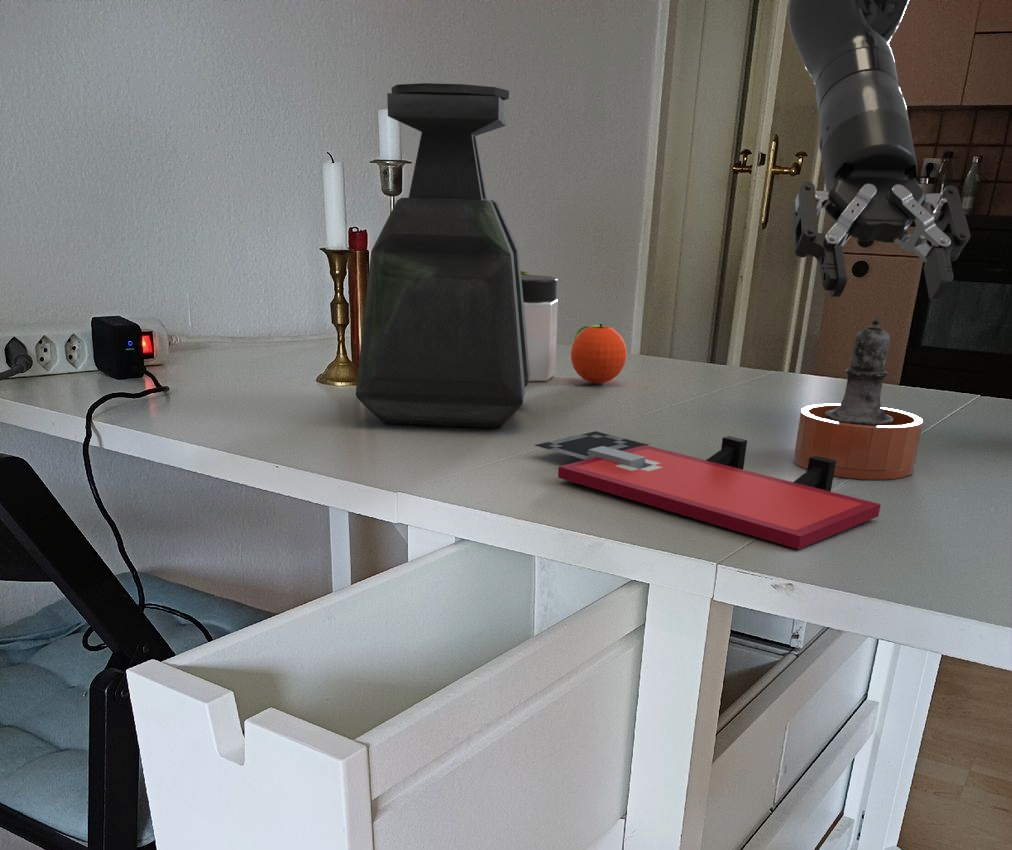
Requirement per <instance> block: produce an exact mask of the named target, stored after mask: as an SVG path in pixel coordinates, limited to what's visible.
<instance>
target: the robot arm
mask: <svg viewBox="0 0 1012 850" xmlns="http://www.w3.org/2000/svg"><path fill="white" fill-rule="evenodd" d="M909 1H910V0H788V2H787V21H788V22H787V23H788V28H789V32H790V36H791V37H792V40H793V43H794V45H795V47H796V50H797V52H798V54H799V56H800V59H801V61H802V63H803V65H804V67H805V69H806V71H807V73H808V74H809V76H810V78H811V80H812V83H813V85H814V89H815V90H814V92H815V93H814V94H815V100H816V107H817V114H818V115H817V116H818V149H819V153H820V156H821V162H822V169H823V176H824V182H825V183H824V184H825V190H816V185H815V183H813V182H812V181H808V180H806V181H803V182H802V183H801V184H800V187H799V189H798V192H797V194H796V197H795V199H794V202H793V205H792V208H791V209H792V224H793V225H792V227H793V242H794V243H793V244H794V245H793V246H794V254H795V255H796V256H797V257H799V258H807V257H808V256H810V257H814V258H815V260H816V261H817V263H818V265H819V271H820V278H821V285H822V287H823V289H824V290H825V291H829V292H828V293H829V297H830V298H840V297H841V296H842V294H843V292H844V290H845V288H846V287H847V284H848V283H847V282H848V273H847V267H846V259H845V254H844V248H843V247H844V246H845V245H846V243H847V242H848V241H849V240H850V239H851V237H852V238H854V239H857V242H858V243H868V242H873V241H874V242H875V241H877V242H880V243H888V244H889V243H892V244H893V243H894V242H895V243H896V244H897V245H898V246H899V247H900V248H901V249H902V250H903V251H904V252H906V253H907V254H911V253H914V255H916V256H917V257H918V259H920V260H921V261H922V262H923V263H925V264H924V265H923V271H924V277H925V284H926V288H927V294H928V299H929V300H935V301H937V300H938V301H939V300H941V298H942V297H943V295H944V294H945V293H946V292H947V290H949V288H950V286H951V284H952V283H953V280H954V272H953V268H952V262H955V261H956V260H957V259H958V258H959V256H960V255H961V252H962V250H963V249H964V247H965V246H966V244H968V242H969V240H970V239H971V233H970V228H969V225H968V221H967V218H966V214H965V210H964V207H963V203H962V199H961V196H960V192H959V189H958V188H957V187H956V186H955V185H951V184H949V185H946V186H945V187H944V189H943V190H942V192H939V193H936V192H935V193H926V192H925V190H924V189H923V188H922V187H921V185H920V184H919V181H918V162H917V156H916V151H915V146H914V141H913V136H912V130H911V125H910V117H909V114H908V108H907V105H906V101H905V98H904V96H903V93H902V91H901V87H900V83H899V77H898V72H897V66H896V61H895V58H894V53H893V50H892V48H891V47H890V44H889V43H890V41H891V39H892V38H893V36H894V34H895V33H896V32H897V29H898V28H899V26H900V24H901V21H902V19H903V16H904V14H905V11H906V9H907V6H908V4H909ZM821 209H824V210H825V212H826V213H827V215H829V217H831V218H832V219H833V220H834V221H835V223H834V224H833V226H832V227H831V228H830V229H829V231H827V233H826V234H824V233H822V232H819V230H818V215H819V213H820V211H821ZM913 223H914V224H915V228H914V230H913V231H912V233H910V232H909V231H908V230H909V228H910V227H911V225H912V224H913ZM925 239H926V240H927V241H929V242H930V243H931V244H932V245H930V244H929V243H927V242H926V240H925Z"/></svg>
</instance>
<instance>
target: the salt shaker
mask: <svg viewBox="0 0 1012 850" xmlns="http://www.w3.org/2000/svg"><path fill="white" fill-rule="evenodd" d="M880 322H881V321H880V320H879V318H878V316H875V317H874V318H873V319H872V320H871V323H872V324H871V325H870V326H868V327H867V328H863V329H861V330H860V331H859V332H857V334H856V336H855V339H854V345H853V351H852V357H851V362H850V367H848V368H847V369H845V371H844V373H846V374H847V380H846V387H845V393H844V394H843V395H844V396H843V398H842V401H841V403H840V404H841V405H840V406H839V407H837V408H836V409H834V410H829V411H827V412H825V416H826V417H827V418H828V420H830V421H835V422H841V423H848V424H856V425H868V426H888V425H889V423H891V422H893V418H892V417H891V416H889V415H886V414H885V413H884V412H883V411H882V409H881V407H882V405H881V395H882V389H883V384H884V379H885V378H886V376H888V375H889V372H887V371H886V370H885V368H886V363H887V357H888V352H889V347H890V342H891V341H890V340H891V339H890V338H891V337H890V335H889V333H888V332H887V331H886V330H884V329H882V328H881V326H879V323H880Z"/></svg>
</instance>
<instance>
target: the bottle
mask: <svg viewBox="0 0 1012 850" xmlns="http://www.w3.org/2000/svg"><path fill="white" fill-rule="evenodd" d="M386 95H387V117H389V118H390V119H393V120H395V121H397V122H400V123H401V124H404V125H406V126H408V127H410V128H412V129H414V130H416V131H418V132H421V134H420V139H419V144H418V148H417V153H416V154H417V155H416V158H415V164H414V169H413V174H412V178H411V184H410V188H409V194H408V197H401V198H398V199H397V200H396V201H395V204H394V206H393V208H392V209H391V211H390V214H389V215H388V217H387V220H386V221H385V223H384V225H383V227H382V229H381V231H380V233H379V235H378V237H377V239H376V241H375V243H374V245H373V247H372V248H371V251H370V259H369V269H368V277H367V285H366V286H367V287H366V295H365V303H364V304H365V305H364V313H363V322H362V333H361V341H360V349H359V350H360V351H359V358H358V359H359V360H358V367H357V377H356V386H355V397H356V399H357V400H358V401H359V402H360V403H361V404H362V405H363V406H364V407H365V408H366V409H367V410H369V412H370V413H372V414H373V415H374V416H375V417H376V418H377V419H378V420H379V421H380V422H381V423H383V424H391V425H393V424H395V425H413V426H414V425H417V426H441V427H463V428H484V429H485V428H489V429H501V428H502V427H503V426H504V425H505V424H506V423H507V422H508V421H509V420H510V418H512V416H513V415H514V414H515V413H516V412H517V411H518V410H519V409H520V408H521V407H522V405H523V402H524V398H525V395H526V387H527V386H528V385H529V384H528V383H529V382H528V380H529V377H530V366H529V355H528V344H527V333H526V323H525V312H524V301H523V291H522V280H521V271H522V269H521V260H520V248H519V247H518V245H517V242H516V240H515V238H514V235H513V233H512V231H511V229H510V227H509V225H508V223H507V221H506V218H505V215H504V214H503V211H502V209H501V207H500V205H499V203H498V201H496V200H494V199H488V195H487V189H486V185H485V179H484V173H483V168H482V162H481V157H480V156H481V155H480V151H479V145H478V141H477V136H480V135H483V134H486V133H489V132H491V131H495V130H497V129H501V128H504V127H506V126H507V104H506V103H505V102H504V101H506V100H509V98H510V90H509V89H508V90H507V89H504V88H500V87H496V86H488V85H486V86H485V85H475V84H467V83H466V84H465V83H431V82H427V83H426V82H422V83H403V84H396V85H394V86H391V92H389V93H387V94H386Z"/></svg>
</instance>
